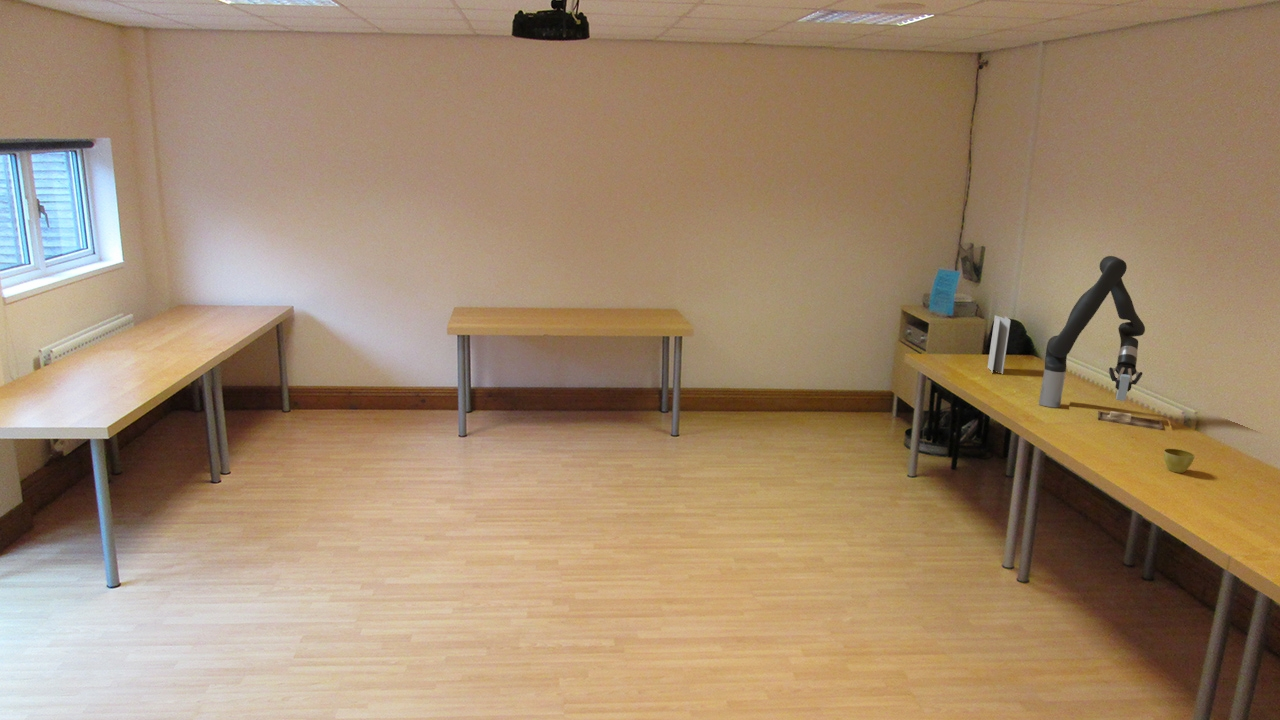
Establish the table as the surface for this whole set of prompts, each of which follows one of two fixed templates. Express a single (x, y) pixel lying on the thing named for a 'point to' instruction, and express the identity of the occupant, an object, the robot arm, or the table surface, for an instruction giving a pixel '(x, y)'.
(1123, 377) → the blue-grey rectangular block
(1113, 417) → the offcut stack
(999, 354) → the brochure
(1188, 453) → the green bowl
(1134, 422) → the brown serving tray
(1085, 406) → the table surface
